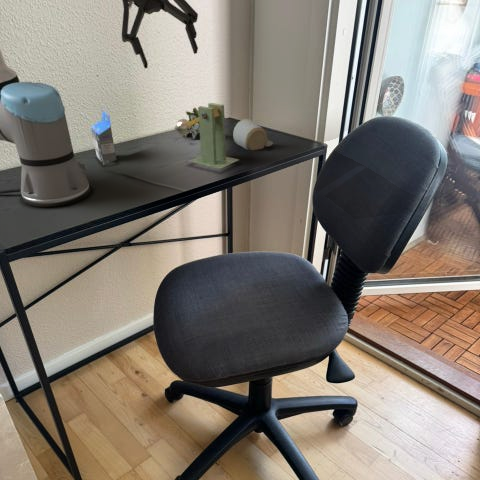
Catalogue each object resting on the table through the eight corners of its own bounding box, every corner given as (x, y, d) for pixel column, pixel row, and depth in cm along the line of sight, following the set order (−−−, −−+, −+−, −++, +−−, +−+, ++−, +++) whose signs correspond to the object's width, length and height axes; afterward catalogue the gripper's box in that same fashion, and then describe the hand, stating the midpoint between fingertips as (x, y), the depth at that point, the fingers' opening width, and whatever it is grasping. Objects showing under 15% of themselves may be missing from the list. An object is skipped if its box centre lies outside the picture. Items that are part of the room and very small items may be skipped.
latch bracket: (188, 165, 127) (183, 106, 118) (208, 156, 132) (204, 99, 123) (220, 173, 121) (217, 112, 113) (239, 164, 127) (238, 105, 118)
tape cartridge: (96, 157, 134) (86, 111, 126) (109, 155, 135) (101, 109, 128) (104, 166, 127) (94, 118, 120) (118, 164, 129) (110, 116, 121)
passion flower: (210, 155, 150) (230, 125, 142) (188, 158, 142) (209, 126, 134) (188, 129, 151) (206, 98, 144) (165, 131, 143) (184, 98, 135)
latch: (176, 138, 127) (170, 123, 126) (186, 134, 130) (180, 120, 129) (213, 121, 117) (207, 105, 116) (223, 117, 120) (217, 101, 119)
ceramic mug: (246, 155, 132) (246, 127, 128) (232, 148, 138) (232, 120, 133) (278, 150, 136) (279, 122, 132) (263, 143, 142) (264, 116, 137)
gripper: (186, -30, 123) (214, 52, 126) (93, -6, 119) (125, 78, 122) (188, -50, 116) (218, 37, 119) (90, -25, 112) (124, 65, 115)
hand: (171, 58), depth 121 cm, fingers open, 13 cm apart
